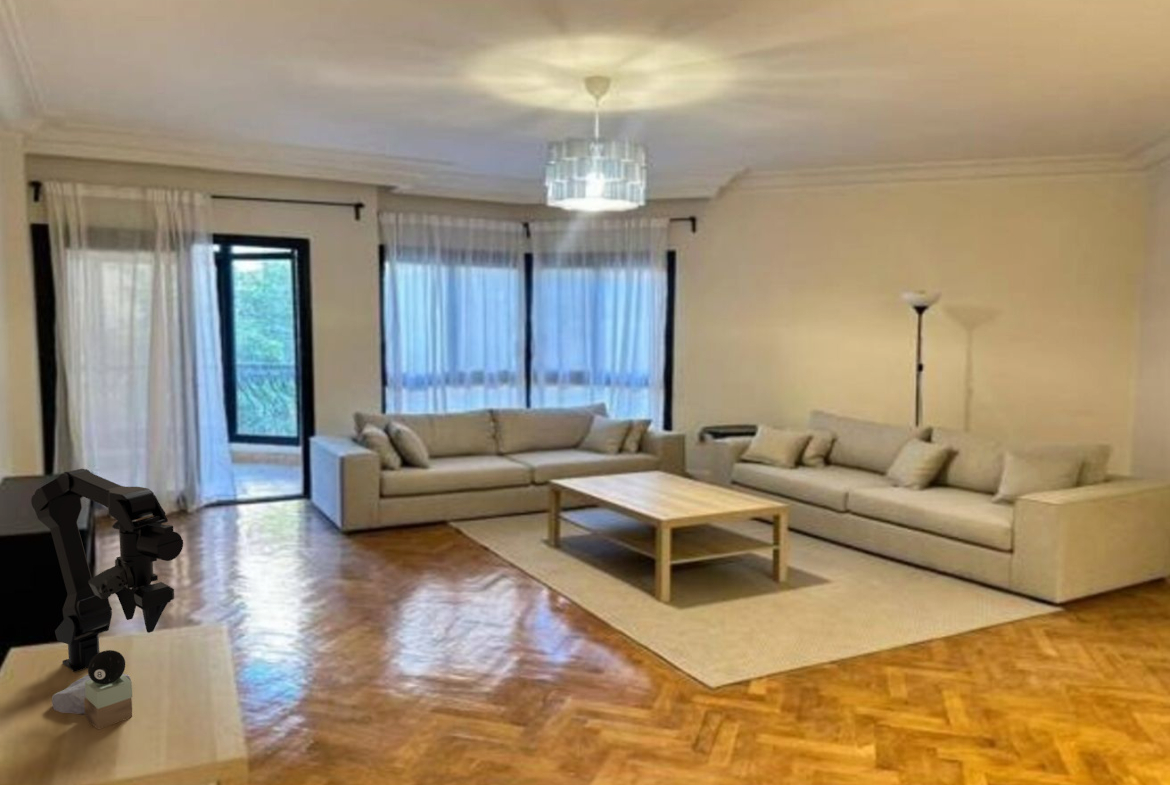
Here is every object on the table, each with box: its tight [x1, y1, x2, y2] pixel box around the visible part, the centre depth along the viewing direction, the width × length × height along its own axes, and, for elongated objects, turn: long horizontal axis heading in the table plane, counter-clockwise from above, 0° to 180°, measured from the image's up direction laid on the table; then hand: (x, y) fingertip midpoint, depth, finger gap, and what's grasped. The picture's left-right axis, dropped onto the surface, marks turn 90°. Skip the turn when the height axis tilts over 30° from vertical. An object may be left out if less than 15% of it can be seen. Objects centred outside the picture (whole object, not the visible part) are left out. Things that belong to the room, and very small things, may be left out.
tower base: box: [84, 697, 133, 730], centre depth 157 cm, size 6×6×4 cm
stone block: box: [51, 673, 132, 715], centre depth 163 cm, size 12×5×10 cm
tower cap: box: [85, 673, 133, 709], centre depth 156 cm, size 6×6×3 cm
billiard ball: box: [87, 649, 126, 684], centre depth 155 cm, size 6×6×6 cm
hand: (139, 625), depth 168 cm, fingers open, 9 cm apart
